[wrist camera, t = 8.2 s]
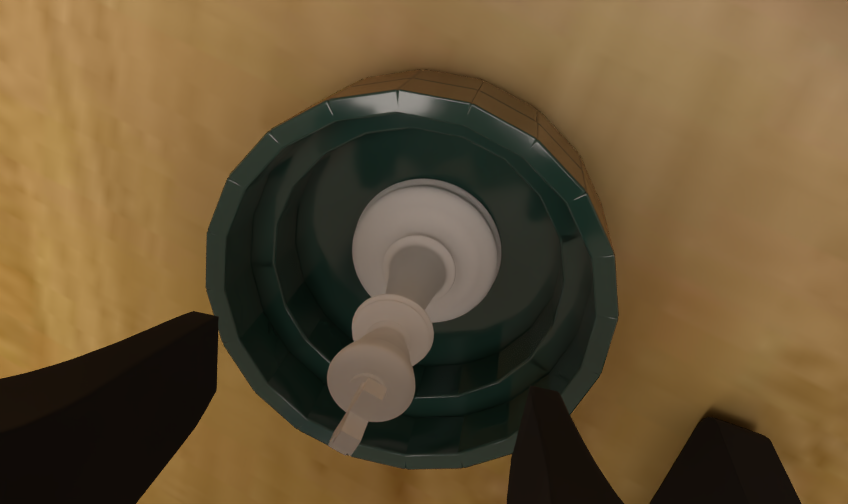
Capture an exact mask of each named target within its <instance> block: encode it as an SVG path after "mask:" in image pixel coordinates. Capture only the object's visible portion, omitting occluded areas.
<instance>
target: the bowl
mask: <svg viewBox="0 0 848 504" xmlns="http://www.w3.org/2000/svg"><path fill="white" fill-rule="evenodd" d="M412 179H435V180H440V181H444V182H448V183H451V184H453V185H456V186H458V187H460V188H462V189H463V190H465V191H467V192H468V193H470V194H471V195H472V196H474V197H475V198H476V199H477V200H478V201H479V202H480V203H481V204H482V205H483V206H484V207H485V208H486V210H487V211H488V212H489V214H490V215H491V217H492V219H493V221H494V223H495V225H496V227H497V230H498V233H499V237H500V241H501V263H500V268H499V271H498V274H497V277H496V279H495V281H494V283H493V285H492V286H491V288H490V290H489V292H488V293H487V295H486V296H485V297H484V299H483V300H482V301H481V302H480V303H479V304H478V305H477V306H476V307H474V308H473V309H472V310H470V311H469V312H467V313H466V314H464V315H462V316H460V317H457V318H454V319H451V320H448V321H443V322H435V323H432V325H433V330H434V339H433V344H432V346H431V349H430V350H429V352H428V353H427V355H426V356H425V357H424V358H423V359H422V360H421V361H419V362H418V363H417V364H415V365H414V366H412V367H413V371H414V376H415V394H414V397H413V400H412V402H411V404H410V406H409V407H408V408H407V409H406V410H405V411H404V412H403V413H402V414H401V415H399V416H398V417H396V418H394V419H391V420H388V421H383V422H369V421H368V424H367V426H366V429H365V431H364V434H363V436H362V439H361V442H360V443H359V445H358V446H357V448H356V449H355V451H354V452H353V454H352V455H351V457H355V458H359V459H363V460H367V461H372V462H376V463H380V464H384V465H388V466H393V467H397V468H401V469H405V468H406V469H408V470H409V469H459V468H463V467H464V468H466V467H470V466H473V465H476V464H480V463H483V462H486V461H490V460H493V459H496V458H500V457H503V456H506V455H510V454H513V450H514V446H515V443H516V439H517V435H518V431H519V427H520V423H521V419H522V416H523V412H524V408H525V404H526V400H527V396H528V392H529V389H530V385H531V386H536V387H540V388H545V389H549V390H554V391H558V392H559V394H560V395H561V397H562V399H563V401H564V403H565V406H566V408H567V410H568V412H569V414H571V413H572V412H573V410H574V409H575V408H576V406H577V405H578V404H579V402H580V401H581V400H582V399H583V397H584V396H585V395H586V393H587V392H588V391H589V389H590V388H591V387H592V386H593V384H594V383H595V382H596V380H597V379H598V378H599V376H600V374H601V373H602V370H603V367H604V363H605V360H606V357H607V354H608V351H609V347H610V344H611V341H612V338H613V334H614V331H615V328H616V325H617V321H618V316H619V312H618V296H617V280H616V264H615V254H614V250H613V246H612V242H611V238H610V235H609V231H608V227H607V223H606V219H605V216H604V212H603V208H602V204H601V202H600V200H599V198H598V195H597V193H596V191H595V188H594V186H593V184H592V182H591V179H590V177H589V175H588V172H587V170H586V168H585V166H584V163H583V161H582V159H581V156H580V155H579V154H578V152H577V151H576V150H575V149H574V148H573V147H572V145H571V144H570V143H569V142H568V141H567V140H566V139H565V138H564V137H563V136H562V135H561V134H560V132H559V131H558V130H557V129H556V128H555V127H554V126H553V125H552V124H551V123H550V122H549V121H548V119H547V118H546V117H545V116H544V115H543V114H542V113H541V112H540V111H537V110H536V108H534V107H532V106H531V105H529V104H527V103H525V102H523V101H521V100H520V99H518V98H516V97H514V96H512V95H510V94H509V93H507V92H505V91H503V90H501V89H500V88H498V87H496V86H494V85H492V84H490V83H489V82H486V81H484V82H483V80H482V79H477V78H471V77H466V76H460V75H455V74H449V73H444V72H438V71H432V70H427V69H425V70H423V71H422V70H420V69H419V70H412V71H406V72H399V73H392V74H386V75H379V76H372V77H367V78H365V79H361V80H359V81H357V82H355V83H353V84H351V85H349V86H347V87H346V88H344V89H342V90H340V91H338V92H336V93H334V94H332V95H330V96H329V97H327V98H325V99H323V100H321V101H319V102H317V103H315V104H314V105H312V106H310V107H308V108H307V109H305V110H303V111H301V112H300V113H298V114H296V115H294V116H293V117H291V118H289V119H287V120H286V121H284V122H282V123H280V124H279V125H277V126H275V127H273V128H272V129H271V130H269V131H268V132H267V133H266V134H265V135H264V136H263V137H262V138H261V140H260V141H259V142H258V143H257V144H256V145H255V146H254V147H253V149H252V150H251V151H250V152H249V153H248V154H247V155H246V156H245V158H244V159H243V160H242V161H241V162H240V163H239V164H238V165H237V167H236V168H235V169H234V170H233V171H232V172H231V173H230V175H229V177H228V178H227V180H226V183H225V186H224V188H223V191H222V193H221V196H220V199H219V201H218V204H217V207H216V209H215V212H214V214H213V217H212V220H211V222H210V225H209V227H208V232H207V246H206V289H207V290H206V291H207V294H208V297H209V301H210V304H211V307H212V310H213V314H214V316H218V317H219V321H218V330H219V333H220V337H221V340H222V342H223V345H224V347H225V348H226V350H227V351H228V353H229V354H230V356H231V357H232V359H233V360H234V362H235V363H236V365H237V366H238V368H239V369H240V371H241V372H242V374H243V375H244V377H245V378H246V380H247V381H248V383H249V384H250V386H251V387H252V389H253V390H254V391H255V393H256V394H258V395H259V396H260V397H261V398H262V399H263V400H264V401H265V402H267V403H268V404H269V405H270V406H271V407H272V408H273V409H274V410H276V411H277V412H278V413H279V414H280V415H281V416H282V417H283V418H285V419H286V420H287V421H288V422H289V423H290V424H291V425H293V426H294V427H295V428H296V429H299V431H301V432H303V433H305V434H307V435H309V436H311V437H313V438H315V439H317V440H319V441H321V442H323V443H324V444H326V445H328V444H329V442H330V439H331V437H332V435H333V433H334V431H335V430H336V428H337V426H338V425H339V423H340V422H341V420H342V419H343V417H344V415H345V414H346V412H345V411H344V410H343V409H341V408H340V407H339V406H338V405H337V403H336V402H335V401H334V399H333V398H332V396H331V394H330V391H329V388H328V384H327V373H328V368H329V365H330V363H331V361H332V360H333V358H334V357H335V356H336V355H337V353H338V352H340V351H341V350H342V349H343V348H345V347H346V346H348V345H349V344H351V343H352V342H354V340H353V336H352V320H353V317H354V314H355V312H356V310H357V309H358V307H359V306H360V305H361V304H362V303H363V302H364V301H366V300H367V299H369V298H371V296H370V295H369V294H368V293H367V291H366V290H365V289H364V287H363V286H362V284H361V282H360V280H359V278H358V276H357V273H356V271H355V267H354V263H353V257H352V243H353V237H354V233H355V230H356V226H357V223H358V220H359V218H360V216H361V214H362V212H363V210H364V209H365V207H366V206H367V205H368V203H369V202H370V201H371V200H372V199H373V198H374V197H375V196H376V195H377V194H379V193H380V192H381V191H383V190H384V189H386V188H388V187H390V186H392V185H394V184H396V183H399V182H402V181H406V180H412ZM347 455H348V454H347Z"/></svg>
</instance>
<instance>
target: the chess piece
mask: <svg viewBox="0 0 848 504" xmlns="http://www.w3.org/2000/svg"><path fill="white" fill-rule="evenodd" d="M352 257H353V263H354V267H355V271H356V273H357V276H358V278H359V280H360V282H361V284H362V286H363V287H364V289H365V290H366V291H367V293H368V294H369V295H370V296H371V298H369V299H367V300H366V301H364V302H363V303H362V304H361V305H360V306H359V307H358V309H357V310H356V312H355V314H354V317H353V320H352V336H353V340H354V342H352V343H351V344H349V345H348V346H346V347H345V348H343V349H342V350H341V351H340V352H338V353H337V355H336V356H335V357H334V358H333V360H332V361H331V363H330V365H329V368H328V373H327V384H328V388H329V391H330V394H331V396H332V398H333V399H334V401H335V402H336V403H337V405H338V406H339V407H340V408H341V409H343V410H344V411H345V412H346V414H345V415H344V417H343V419H342V420H341V422H340V423H339V425H338V426H337V428H336V430H335V431H334V433H333V435H332V437H331V439H330V442H329V444H328V446H329V447H331V448H333V449H335V450H336V451H338V452H340V453H342V454H344V455H345V456H346V455H347V454H348V455H350V456H351V455H352V454H353V452H354V451H355V449H356V448H357V446H358V445H359V443H360V442H361V439H362V436H363V434H364V431H365V429H366V426H367V424H368V421H369V422H383V421H388V420H391V419H394V418H396V417H398V416H399V415H401V414H402V413H403V412H404V411H405V410H406V409H407V408H408V407H409V406H410V404H411V402H412V400H413V397H414V394H415V376H414V371H413V367H412V366H414V365H415V364H417V363H418V362H419V361H421V360H422V359H423V358H424V357H425V356H426V355H427V353H428V352H429V350H430V349H431V346H432V344H433V339H434V330H433V325H432V323H435V322H443V321H448V320H451V319H454V318H457V317H460V316H462V315H464V314H466V313H467V312H469V311H470V310H472V309H473V308H474V307H476V306H477V305H478V304H479V303H480V302H481V301H482V300H483V299H484V297H485V296H486V295H487V293H488V292H489V290H490V288H491V286H492V285H493V283H494V281H495V279H496V277H497V274H498V271H499V268H500V263H501V241H500V237H499V233H498V230H497V227H496V225H495V223H494V221H493V219H492V217H491V215H490V214H489V212H488V211H487V210H486V208H485V207H484V206H483V205H482V204H481V203H480V202H479V201H478V200H477V199H476V198H475V197H474V196H472V195H471V194H470V193H468V192H467V191H465V190H463V189H462V188H460V187H458V186H456V185H453V184H451V183H448V182H444V181H440V180H435V179H412V180H406V181H402V182H399V183H396V184H394V185H392V186H390V187H388V188H386V189H384V190H383V191H381V192H380V193H379V194H377V195H376V196H375V197H374V198H373V199H372V200H371V201H370V202H369V203H368V205H367V206H366V207H365V209H364V210H363V212H362V214H361V216H360V218H359V220H358V223H357V226H356V230H355V233H354V237H353V243H352Z"/></svg>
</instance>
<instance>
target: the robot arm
mask: <svg viewBox="0 0 848 504" xmlns="http://www.w3.org/2000/svg"><path fill="white" fill-rule="evenodd" d="M218 321H219V317H218V316H213V315H209V314H204V313H200V312H195V311H193V312H190V313H187V314H184V315H181V316H179V317H176V318H174V319H171V320H169V321H167V322H164V323H162V324H160V325H157V326H155V327H153V328H150V329H148V330H146V331H143V332H141V333H138V334H136V335H134V336H131V337H129V338H127V339H124V340H122V341H119V342H117V343H114V344H112V345H109V346H106V347H104V348H101V349H98V350H96V351H93V352H90V353H88V354H85V355H82V356H80V357H77V358H74V359H71V360H68V361H65V362H62V363H59V364H56V365H53V366H49V367H46V368H42V369H39V370H35V371H32V372H28V373H24V374H20V375H16V376H11V377H7V378H2V379H0V504H136V503H137V502H138V500H139V499H140V498H141V496H142V495H143V494H144V493H145V491H146V490H147V489H148V488H149V486H150V485H151V484H152V482H153V481H154V480H155V479H156V477H157V476H158V475H159V474H160V472H161V471H162V470H163V468H164V467H165V466H166V465H167V463H168V462H169V461H170V460H171V458H172V457H173V456H174V454H175V453H176V452H177V451H178V449H179V448H180V447H181V445H182V444H183V443H184V441H185V440H186V439H187V438H188V436H189V435H190V434H191V432H192V431H193V430H194V428H195V427H196V425H197V424H198V422H199V420H200V419H201V417H202V415H203V414H204V412H205V410H206V409H207V407H208V405H209V403H210V401H211V399H212V398H213V396H214V394H215V392H216V389H217V355H218ZM507 504H624V503H623V502H622V501H621V499H620V498H619V497H618V495H617V494H616V493H615V491H614V490H613V489H612V487H611V486H610V484H609V483H608V481H607V480H606V478H605V477H604V475H603V474H602V472H601V470H600V469H599V467H598V466H597V464H596V462H595V461H594V459H593V457H592V456H591V454H590V452H589V450H588V449H587V447H586V445H585V443H584V442H583V440H582V438H581V436H580V434H579V432H578V430H577V428H576V426H575V424H574V422H573V420H572V418H571V416H570V414H569V412H568V410H567V408H566V406H565V403H564V401H563V399H562V397H561V395H560V394H559V392H558V391H554V390H549V389H545V388H540V387H536V386H531V385H530V389H529V392H528V396H527V400H526V404H525V408H524V412H523V416H522V419H521V423H520V427H519V431H518V435H517V439H516V443H515V446H514V450H513V454H512V458H511V466H510V475H509V484H508V494H507Z"/></svg>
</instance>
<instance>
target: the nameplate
mask: <svg viewBox="0 0 848 504" xmlns="http://www.w3.org/2000/svg"><path fill="white" fill-rule="evenodd" d="M650 504H801V502H800V500H799V498H798V496H797V494H796V492H795V490H794V488H793V486H792V484H791V482H790V479H789V477H788V475H787V473H786V471H785V469H784V467H783V465H782V463H781V461H780V459H779V457H778V455H777V453H776V451H775V448H774V446H773V444H772V442H771V441H770V439H769V438H767V437H766V436H764V435H762V434H759V433H756V432H753V431H750V430H747V429H745V428H742V427H739V426H736V425H733V424H730V423H728V422H725V421H722V420H719V419H716V418H713V417H707V418H705V419H703V420H702V421H701V422H700V423H699V424H698V426H697V427H696V428H695V430H694V432H693V433H692V435H691V437H690V438H689V440H688V442H687V444H686V445H685V447H684V448H683V450H682V452H681V453H680V455H679V457H678V458H677V460H676V462H675V463H674V465H673V467H672V468H671V470H670V472H669V473H668V475H667V477H666V478H665V480H664V482H663V483H662V485H661V486H660V488H659V490H658V491H657V493H656V495H655V496H654V498H653V500H652V501H651V503H650Z"/></svg>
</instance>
